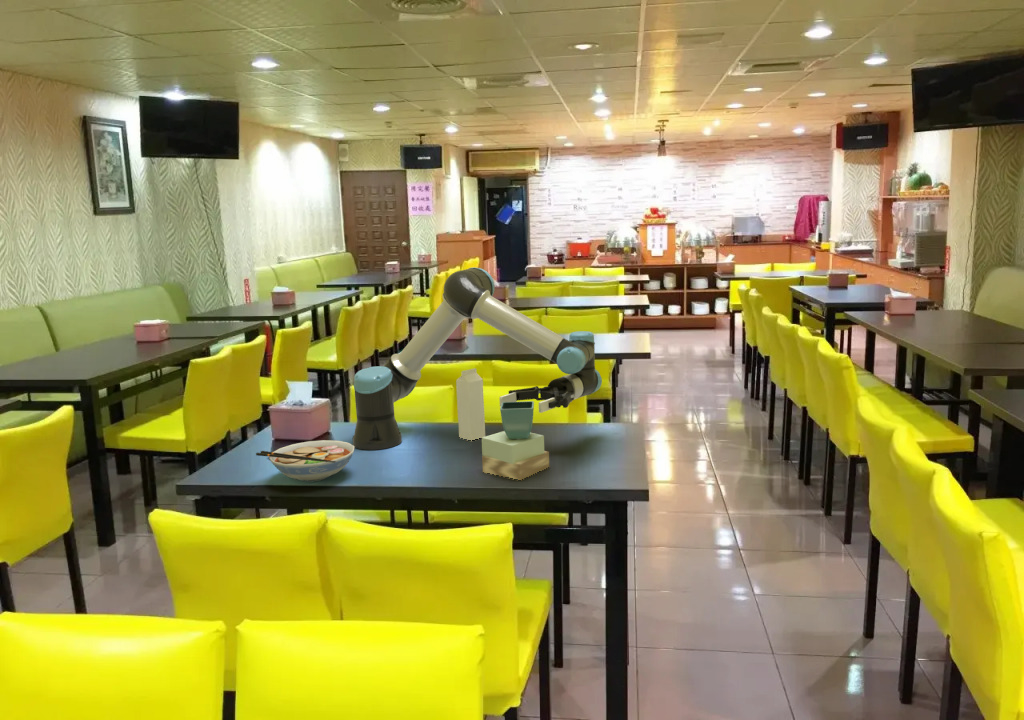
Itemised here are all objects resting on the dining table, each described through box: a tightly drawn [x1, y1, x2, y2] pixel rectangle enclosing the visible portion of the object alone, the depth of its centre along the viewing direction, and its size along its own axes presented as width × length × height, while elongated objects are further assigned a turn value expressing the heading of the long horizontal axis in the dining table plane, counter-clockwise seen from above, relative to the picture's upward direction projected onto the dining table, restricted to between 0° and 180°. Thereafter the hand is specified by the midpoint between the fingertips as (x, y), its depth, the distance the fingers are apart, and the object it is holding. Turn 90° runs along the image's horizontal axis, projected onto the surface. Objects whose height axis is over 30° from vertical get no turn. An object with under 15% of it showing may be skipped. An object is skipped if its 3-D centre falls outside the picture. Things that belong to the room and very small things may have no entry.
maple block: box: [481, 450, 550, 481], centre depth 213 cm, size 13×13×5 cm
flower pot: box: [499, 400, 535, 439], centre depth 210 cm, size 9×9×9 cm
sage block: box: [481, 430, 545, 464], centre depth 212 cm, size 12×12×5 cm
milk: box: [455, 368, 486, 442], centre depth 244 cm, size 6×6×22 cm
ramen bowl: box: [255, 439, 355, 483], centre depth 213 cm, size 25×23×8 cm
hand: (519, 404), depth 212 cm, fingers open, 13 cm apart
